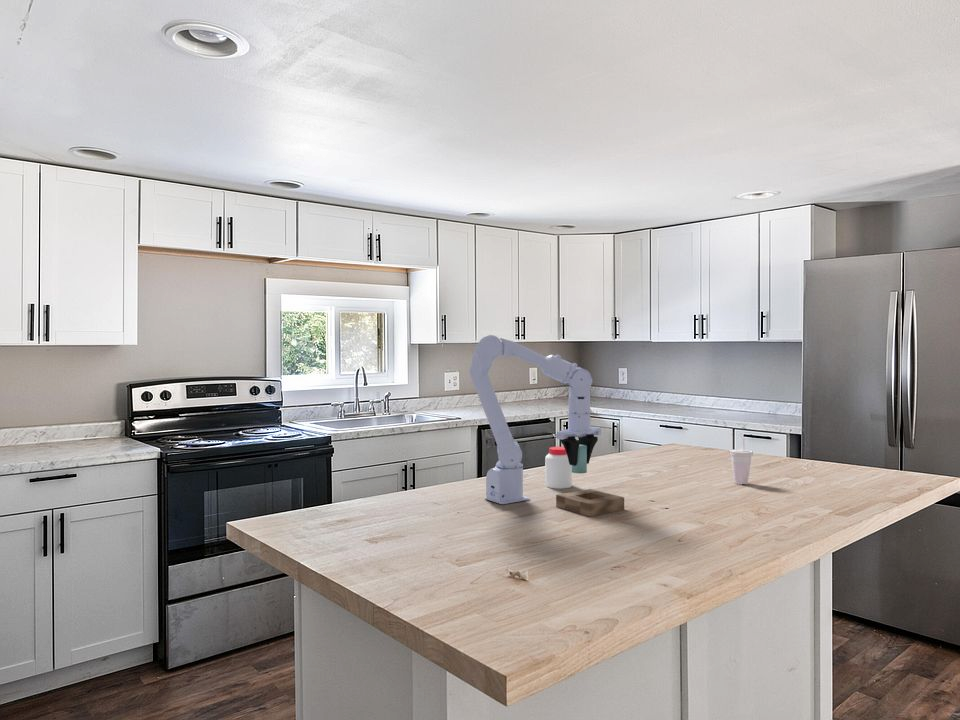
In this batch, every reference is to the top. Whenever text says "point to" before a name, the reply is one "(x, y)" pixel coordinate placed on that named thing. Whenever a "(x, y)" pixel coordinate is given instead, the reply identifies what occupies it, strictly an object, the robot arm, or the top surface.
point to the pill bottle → (557, 469)
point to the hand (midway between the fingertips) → (579, 464)
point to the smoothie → (741, 464)
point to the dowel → (581, 460)
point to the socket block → (590, 502)
